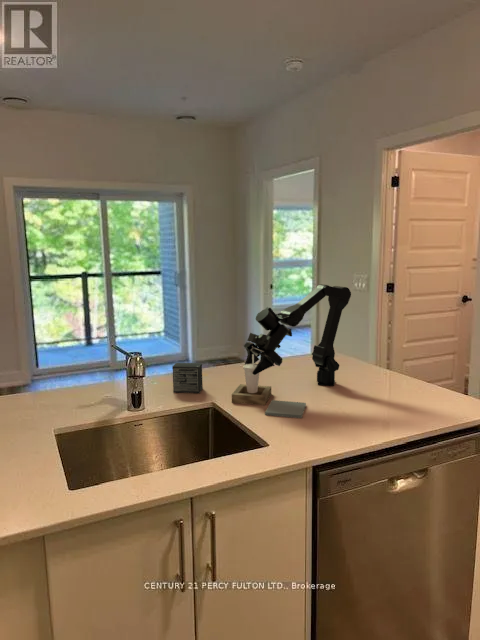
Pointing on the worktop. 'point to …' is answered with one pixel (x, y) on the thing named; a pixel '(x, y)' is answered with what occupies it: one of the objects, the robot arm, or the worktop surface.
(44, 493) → the worktop surface
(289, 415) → the coaster
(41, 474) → the worktop surface
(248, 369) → the smoothie
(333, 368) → the robot arm
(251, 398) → the holder
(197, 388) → the small box
